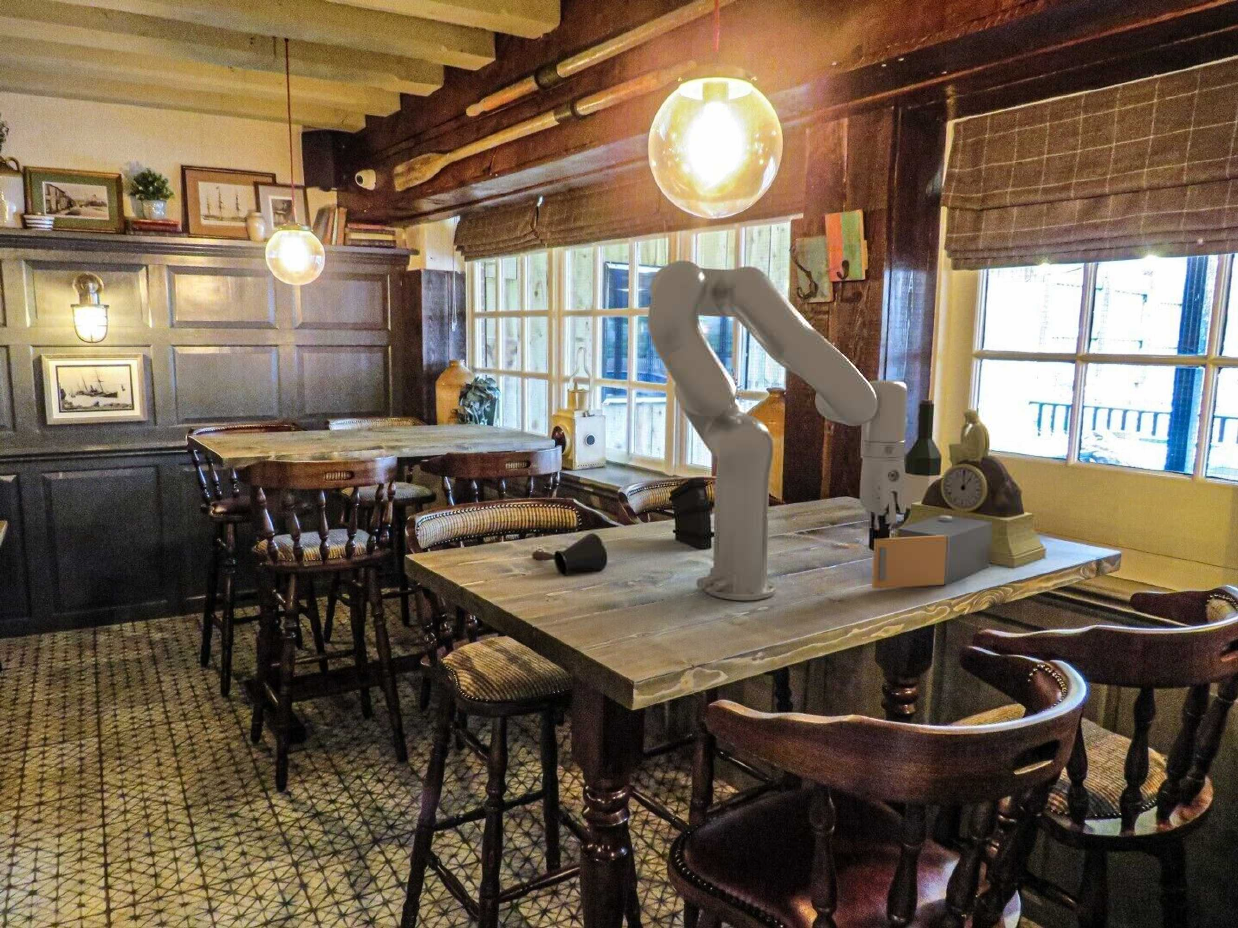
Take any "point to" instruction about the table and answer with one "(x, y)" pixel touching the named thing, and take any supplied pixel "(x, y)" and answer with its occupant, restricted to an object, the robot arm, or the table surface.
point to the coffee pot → (578, 556)
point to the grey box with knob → (957, 542)
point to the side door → (910, 561)
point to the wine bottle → (922, 459)
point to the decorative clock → (982, 498)
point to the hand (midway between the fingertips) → (878, 549)
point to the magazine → (692, 514)
